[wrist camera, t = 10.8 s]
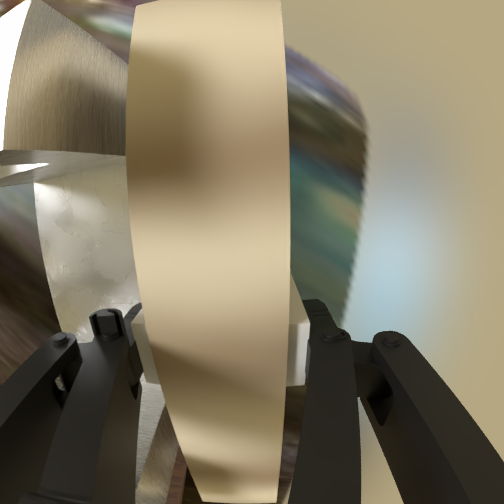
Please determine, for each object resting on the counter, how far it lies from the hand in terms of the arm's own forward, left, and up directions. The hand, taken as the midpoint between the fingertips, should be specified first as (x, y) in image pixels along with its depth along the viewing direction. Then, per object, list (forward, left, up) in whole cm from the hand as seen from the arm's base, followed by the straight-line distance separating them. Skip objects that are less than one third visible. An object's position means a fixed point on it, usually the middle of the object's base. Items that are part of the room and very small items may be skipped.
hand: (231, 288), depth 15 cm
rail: (0, 0, +1) cm, 1 cm away
